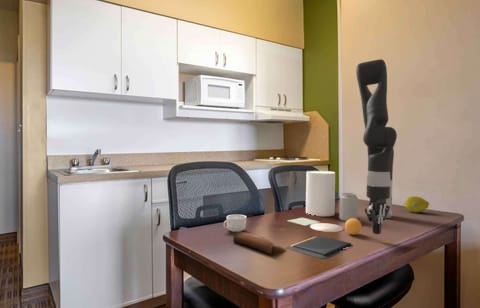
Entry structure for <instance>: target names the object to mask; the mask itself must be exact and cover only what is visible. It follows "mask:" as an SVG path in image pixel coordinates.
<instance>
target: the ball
mask: <svg viewBox="0 0 480 308" xmlns="http://www.w3.org/2000/svg"><path fill="white" fill-rule="evenodd" d="M362 229H363V226H362V223H361V221H360V220H359V219H358V218H357V219H354V218H351V219H349V220H347V221H346V222H345V224H344V230H345V231H346V233H348V234H349V235H353V236H355V235H358V234H360V233H361V231H362Z"/></svg>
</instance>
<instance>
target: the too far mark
mask: <svg viewBox="0 0 480 308" xmlns="http://www.w3.org/2000/svg"><path fill="white" fill-rule="evenodd" d="M287 222H289V223H293V224H297V225H300V226H304V227H305V226H310V225H312V224H316V223H321V221H319V220H314V219H309V218H307V217H306V218H305V217H298V218H294V219H288V220H287Z"/></svg>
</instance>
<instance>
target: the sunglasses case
mask: <svg viewBox="0 0 480 308" xmlns="http://www.w3.org/2000/svg"><path fill="white" fill-rule="evenodd" d="M232 241H233V243H235V244H241V245H242V246H243V245H245V246H248V247H250V248H253V249H256V250H258V251H261V252H263V253H266V254H268V255H270V256H272V257H274V256H277V255H280V254H283V253H286V252H288V249H286V248H285V247H283V246H281V245H279V244H277V243H275V242H273V241H271V240H270V239H269V238H267V237H265V236H260V235H257V234H254V233H250V232H243V231H241V232H236V233H235V235H234V236H233V239H232Z"/></svg>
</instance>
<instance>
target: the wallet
mask: <svg viewBox="0 0 480 308" xmlns="http://www.w3.org/2000/svg"><path fill="white" fill-rule="evenodd" d="M353 245H354V244H352V243H351V242H347V241H344V240H340V239H335V238H332V237H327V236H323V235H318V236H317V235H316V236H313V237H310V238H307V239H304V240H301V241H300V242H297V243H294V244H292V245H289V246H286V247H285V249H286V250H291V251H292V252H297V253H298V254H299V253H300V254H302V255H305V256H310V257H313V258H317V259H320V260H325V259H326V260H328V259H330V258H332V257H334V256H336V255H338V254H340V253H341V252H340V251H342V252H344V251H346V249H343V248H346V247H351V246H353ZM353 247H354V246H353ZM351 248H352V247H351ZM343 250H344V251H343ZM337 253H338V254H337ZM327 258H328V259H327Z"/></svg>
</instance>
